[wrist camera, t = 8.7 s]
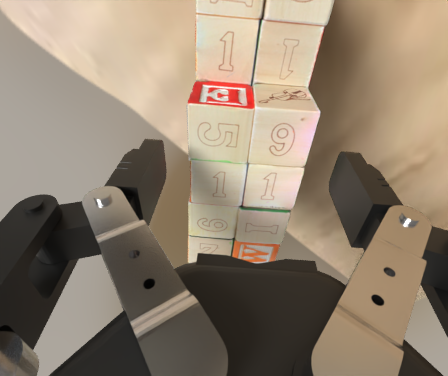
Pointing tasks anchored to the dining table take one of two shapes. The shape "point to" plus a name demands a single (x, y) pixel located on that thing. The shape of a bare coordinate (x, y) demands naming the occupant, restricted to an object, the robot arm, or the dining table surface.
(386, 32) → the dining table surface
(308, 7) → the stack of blocks
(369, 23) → the dining table surface
